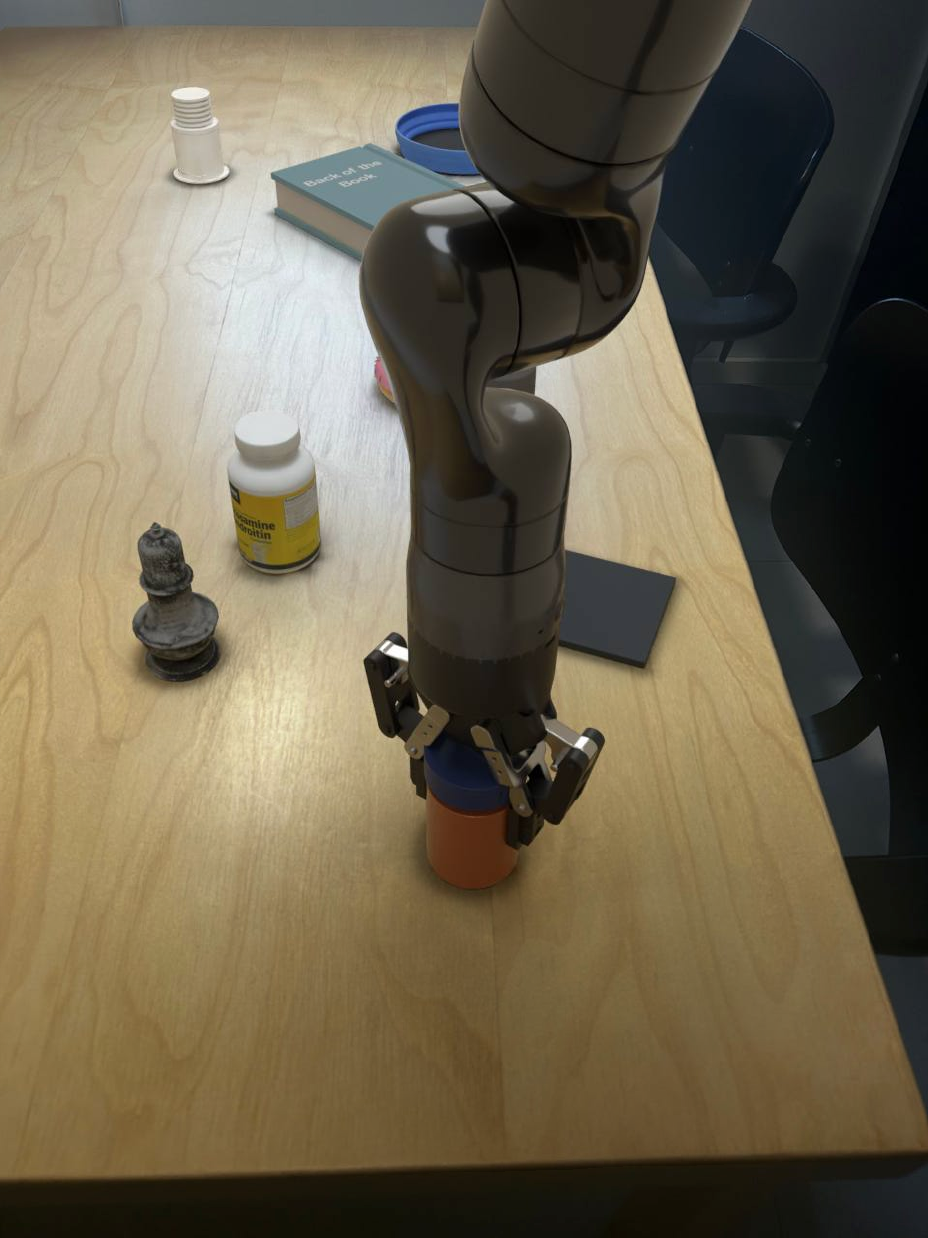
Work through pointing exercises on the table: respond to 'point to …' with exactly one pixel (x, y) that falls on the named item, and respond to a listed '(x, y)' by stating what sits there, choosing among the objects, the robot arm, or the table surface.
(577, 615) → the coaster
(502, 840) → the jar
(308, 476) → the pill bottle
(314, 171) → the book
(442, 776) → the jar lid
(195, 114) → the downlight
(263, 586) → the table surface
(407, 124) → the bowl
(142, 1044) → the table surface
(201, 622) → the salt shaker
